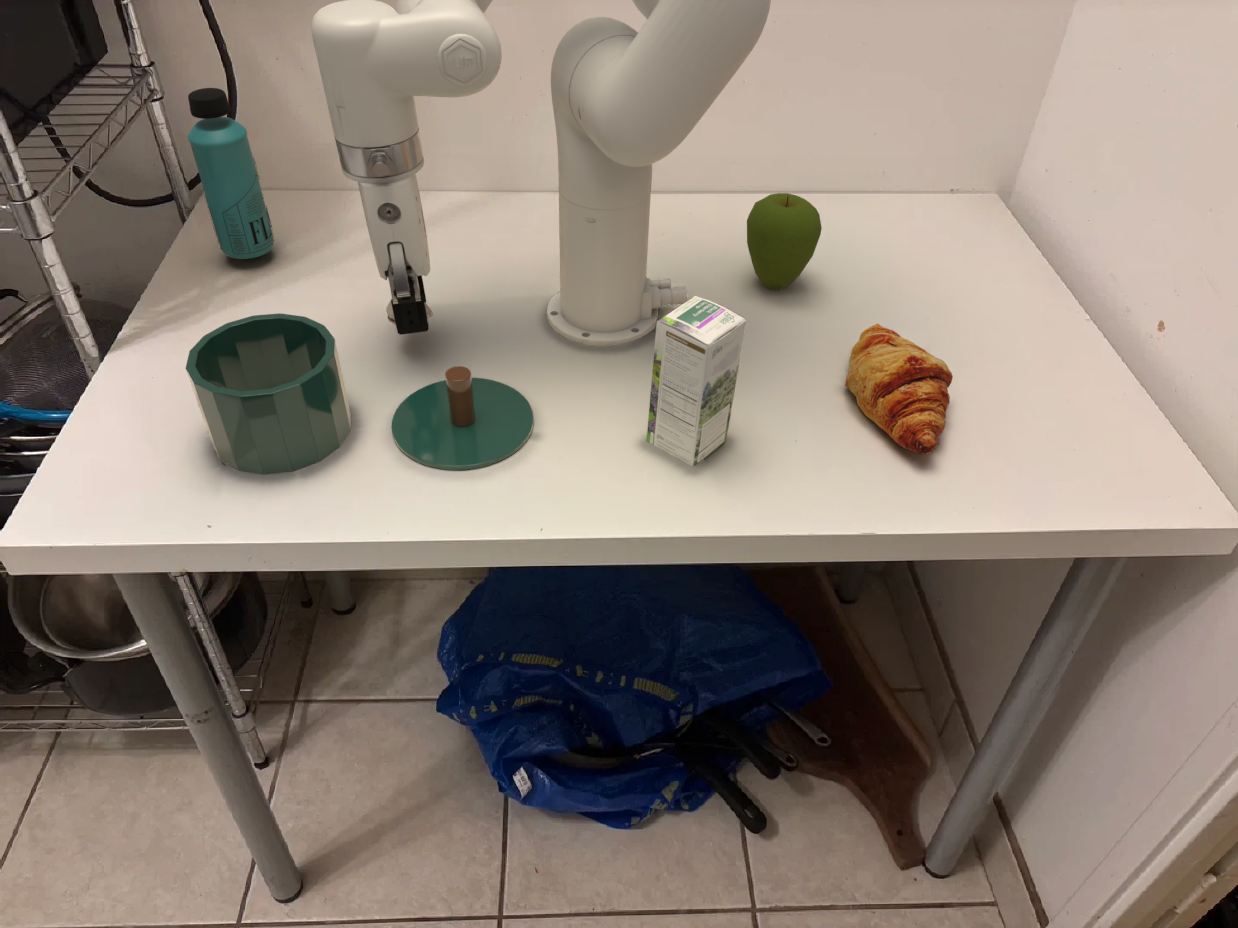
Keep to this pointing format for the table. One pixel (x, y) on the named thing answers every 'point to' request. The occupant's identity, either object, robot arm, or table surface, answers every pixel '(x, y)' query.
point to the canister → (270, 392)
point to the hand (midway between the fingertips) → (412, 316)
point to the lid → (462, 422)
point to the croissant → (900, 387)
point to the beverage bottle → (229, 177)
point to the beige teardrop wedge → (391, 315)
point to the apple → (782, 238)
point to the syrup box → (694, 379)
